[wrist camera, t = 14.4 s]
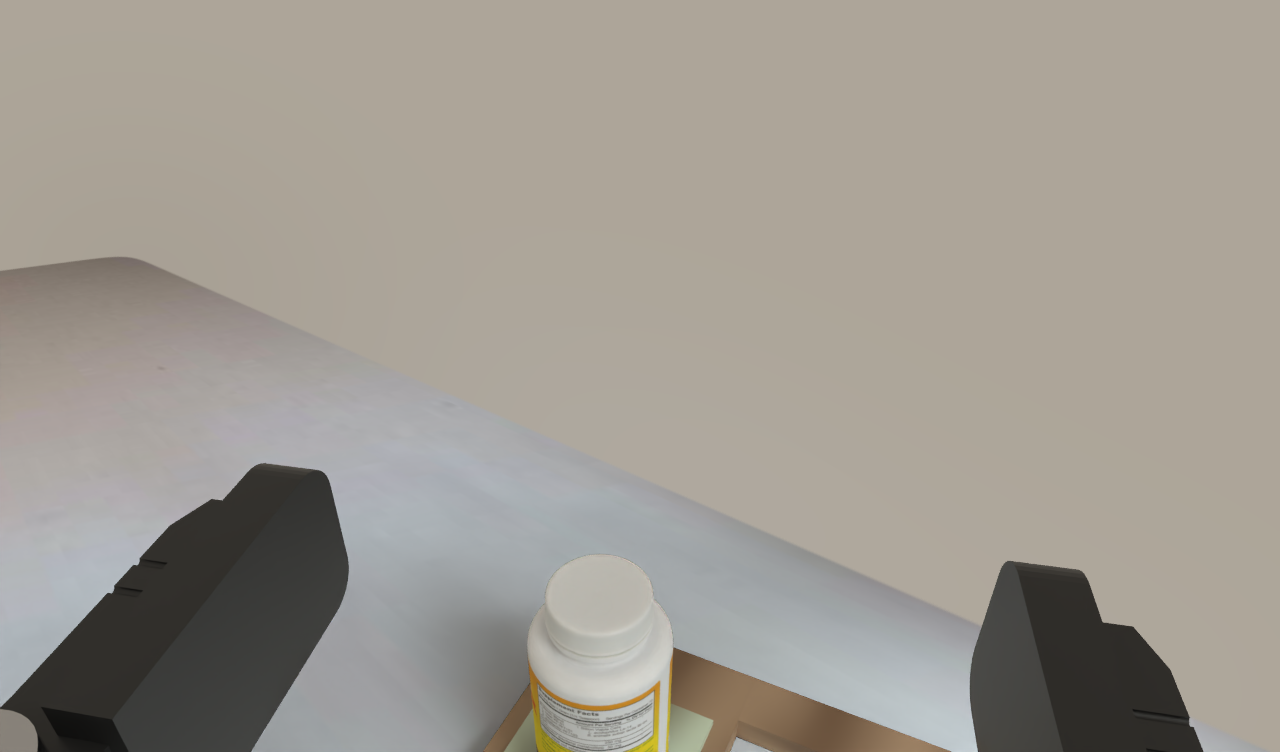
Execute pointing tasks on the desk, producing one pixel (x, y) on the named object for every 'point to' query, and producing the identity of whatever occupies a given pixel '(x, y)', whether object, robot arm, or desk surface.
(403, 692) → the desk surface
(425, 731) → the desk surface
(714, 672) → the puzzle board
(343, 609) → the desk surface
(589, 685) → the supplement bottle
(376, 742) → the desk surface
